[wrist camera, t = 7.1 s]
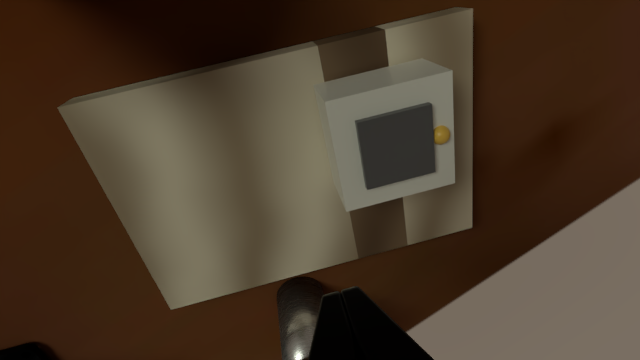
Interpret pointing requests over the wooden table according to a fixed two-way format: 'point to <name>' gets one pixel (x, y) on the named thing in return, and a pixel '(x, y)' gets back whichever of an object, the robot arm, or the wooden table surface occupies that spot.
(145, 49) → the wooden table surface
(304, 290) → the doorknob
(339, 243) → the board
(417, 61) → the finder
